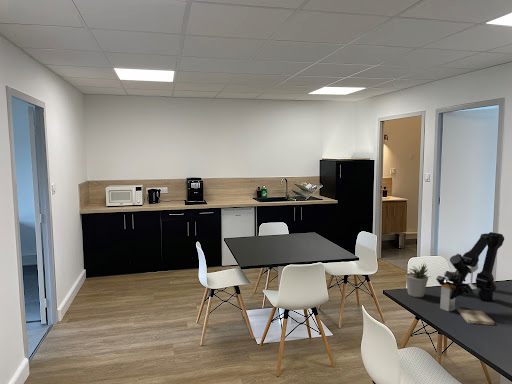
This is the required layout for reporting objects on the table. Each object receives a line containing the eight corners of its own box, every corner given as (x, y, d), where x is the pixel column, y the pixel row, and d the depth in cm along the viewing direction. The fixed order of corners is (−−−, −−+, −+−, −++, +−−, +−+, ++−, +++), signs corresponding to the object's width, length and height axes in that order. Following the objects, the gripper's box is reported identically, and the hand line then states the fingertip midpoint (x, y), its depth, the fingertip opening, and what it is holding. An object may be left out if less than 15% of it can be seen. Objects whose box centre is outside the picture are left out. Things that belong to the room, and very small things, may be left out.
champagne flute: (479, 289, 245) (481, 251, 242) (468, 288, 245) (470, 251, 243) (473, 285, 251) (475, 248, 249) (462, 285, 251) (465, 248, 249)
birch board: (482, 313, 205) (482, 310, 205) (494, 324, 192) (494, 321, 191) (458, 312, 207) (458, 309, 207) (468, 323, 193) (468, 320, 193)
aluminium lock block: (446, 306, 214) (447, 283, 213) (454, 310, 210) (455, 286, 209) (440, 308, 212) (441, 285, 211) (448, 311, 208) (449, 287, 206)
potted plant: (419, 300, 223) (421, 266, 221) (400, 293, 235) (401, 261, 233) (433, 297, 230) (435, 263, 228) (413, 290, 241) (415, 258, 240)
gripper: (439, 261, 219) (424, 283, 215) (470, 270, 202) (455, 294, 198) (447, 273, 223) (433, 295, 219) (479, 282, 207) (464, 306, 203)
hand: (446, 297), depth 210 cm, fingers closed on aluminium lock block, 5 cm apart
